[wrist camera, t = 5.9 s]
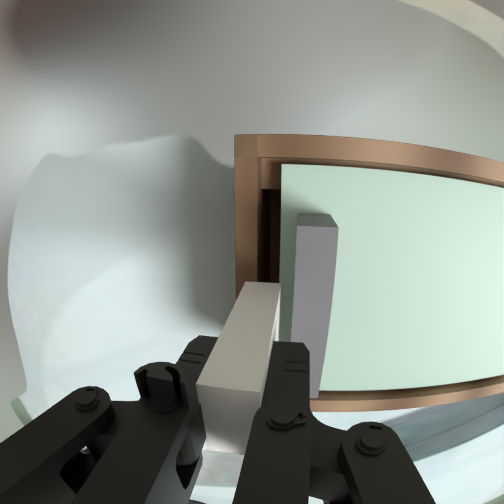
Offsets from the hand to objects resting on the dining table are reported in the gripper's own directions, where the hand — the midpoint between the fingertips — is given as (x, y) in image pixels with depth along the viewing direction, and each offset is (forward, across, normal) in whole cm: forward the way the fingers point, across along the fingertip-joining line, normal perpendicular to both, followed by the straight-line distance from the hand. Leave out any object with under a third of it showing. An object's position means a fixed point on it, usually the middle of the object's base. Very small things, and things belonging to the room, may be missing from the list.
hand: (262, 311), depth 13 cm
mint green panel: (+3, +9, 0) cm, 9 cm away
